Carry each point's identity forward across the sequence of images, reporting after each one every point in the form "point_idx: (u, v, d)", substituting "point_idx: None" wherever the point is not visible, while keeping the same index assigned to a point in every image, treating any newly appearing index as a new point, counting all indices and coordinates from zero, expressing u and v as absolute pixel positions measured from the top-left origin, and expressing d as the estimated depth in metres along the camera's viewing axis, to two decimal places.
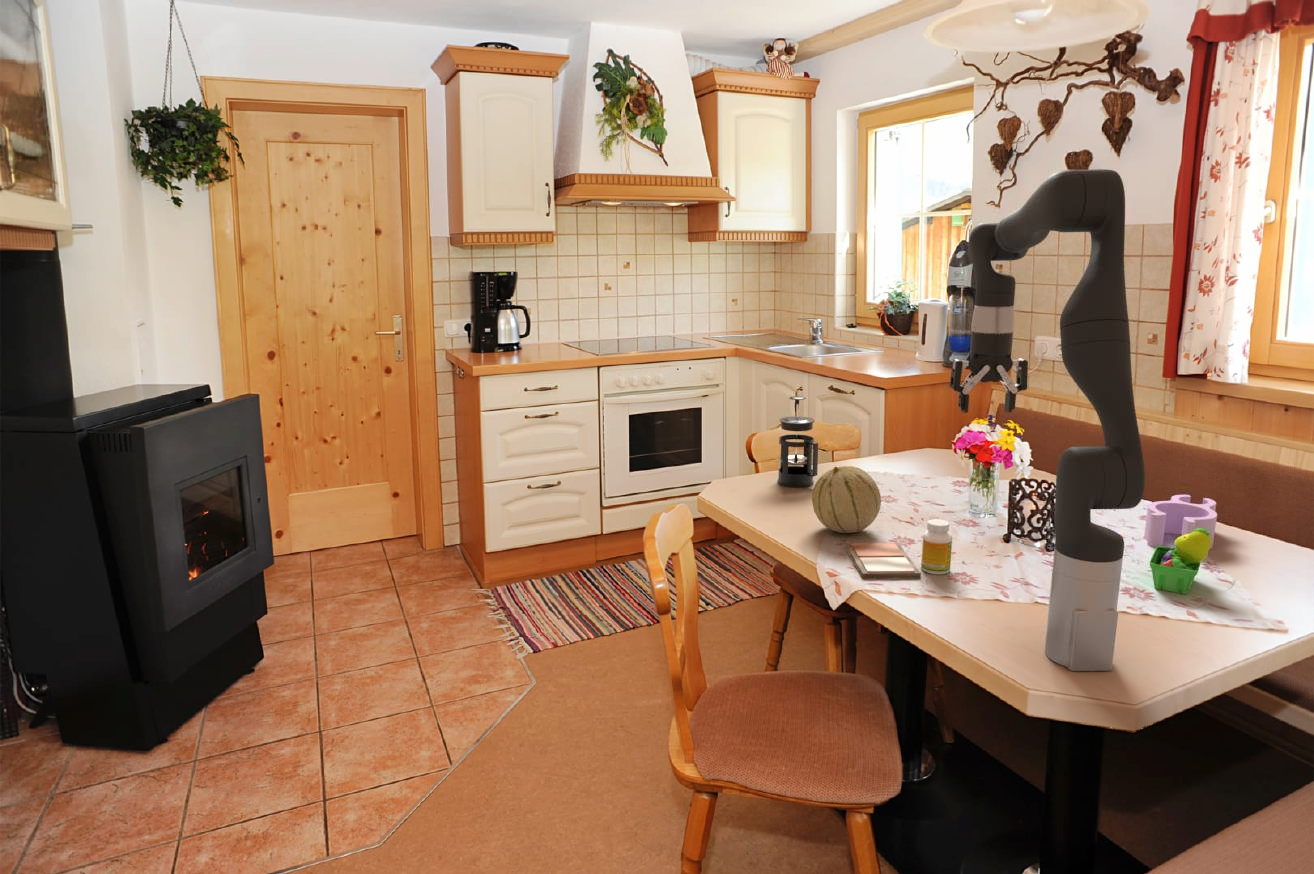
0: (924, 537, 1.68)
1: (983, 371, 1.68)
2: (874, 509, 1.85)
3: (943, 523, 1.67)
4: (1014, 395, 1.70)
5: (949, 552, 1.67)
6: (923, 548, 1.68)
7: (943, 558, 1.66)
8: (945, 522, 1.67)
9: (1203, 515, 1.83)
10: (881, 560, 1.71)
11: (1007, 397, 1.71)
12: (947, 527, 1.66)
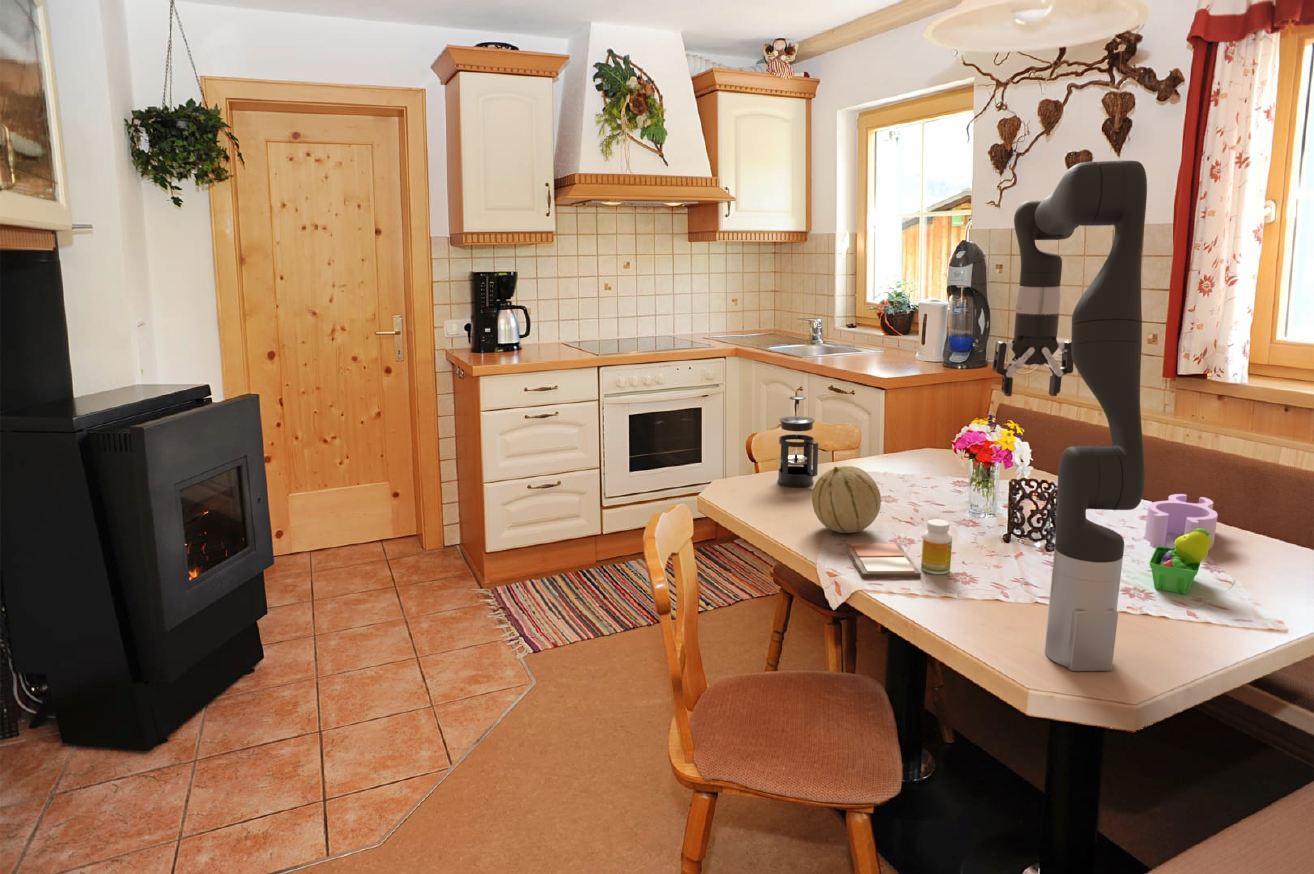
0: (924, 537, 1.68)
1: (1028, 353, 1.64)
2: (874, 509, 1.85)
3: (943, 523, 1.67)
4: (1059, 378, 1.66)
5: (949, 552, 1.67)
6: (923, 548, 1.68)
7: (944, 558, 1.66)
8: (945, 522, 1.67)
9: (1202, 514, 1.83)
10: (881, 560, 1.71)
11: (1051, 380, 1.67)
12: (947, 527, 1.66)
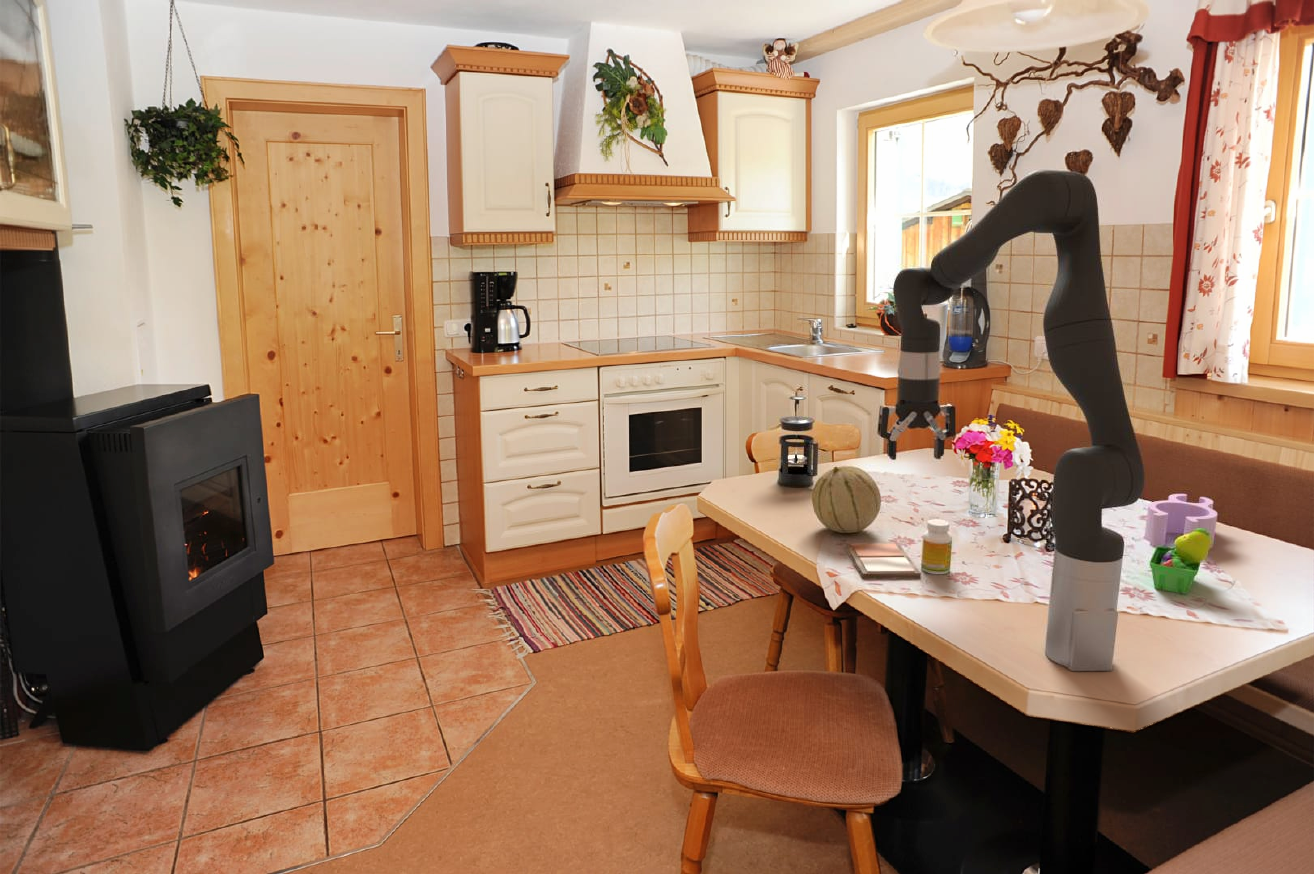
0: (924, 537, 1.68)
1: (910, 417, 1.64)
2: (874, 509, 1.85)
3: (943, 523, 1.67)
4: (943, 441, 1.66)
5: (949, 552, 1.67)
6: (923, 548, 1.68)
7: (944, 558, 1.66)
8: (945, 522, 1.67)
9: (1202, 514, 1.83)
10: (881, 560, 1.71)
11: (935, 443, 1.67)
12: (947, 527, 1.66)
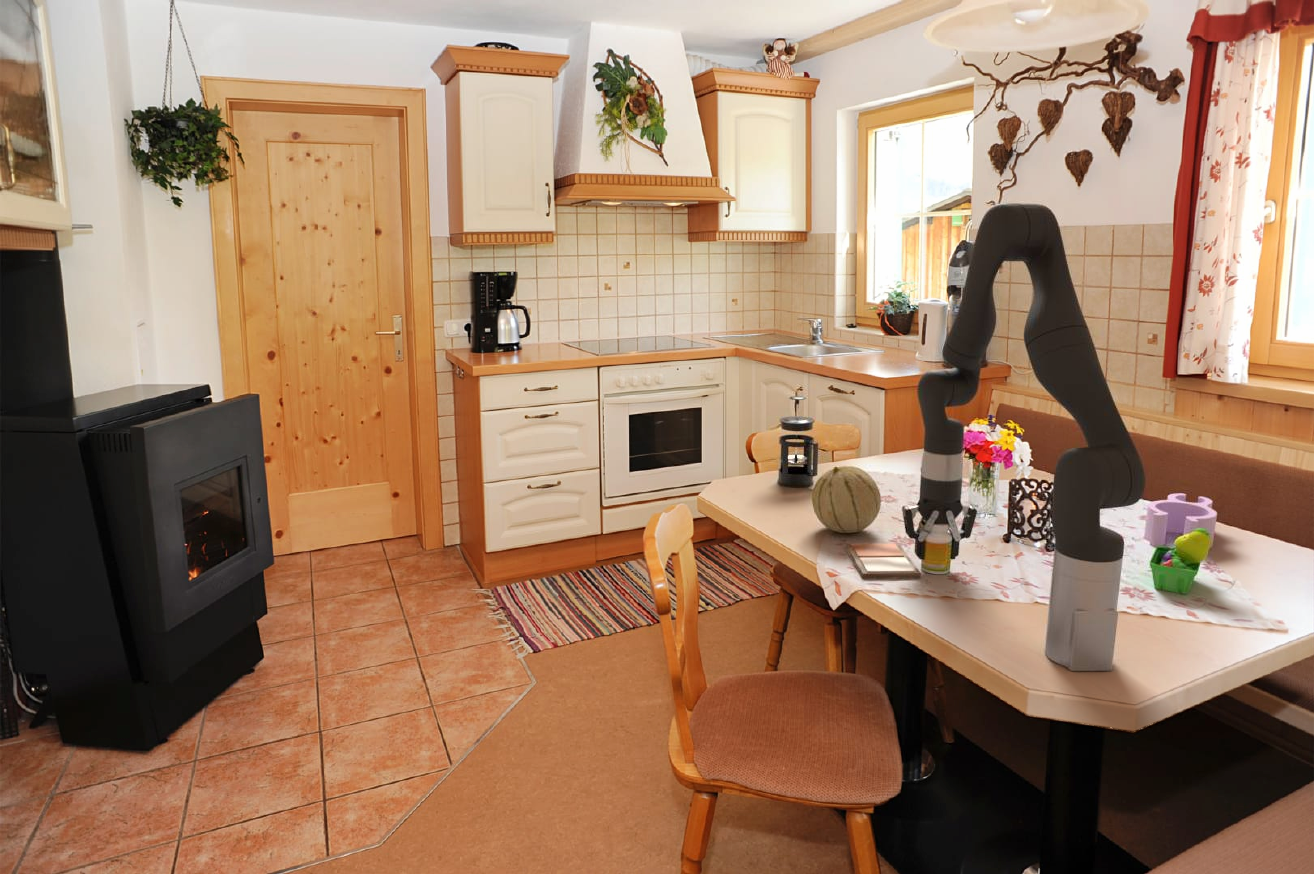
0: None
1: (933, 517, 1.65)
2: (874, 509, 1.85)
3: None
4: (957, 542, 1.68)
5: (949, 552, 1.67)
6: None
7: (943, 558, 1.66)
8: None
9: (1202, 514, 1.84)
10: (881, 560, 1.71)
11: None
12: (947, 527, 1.66)
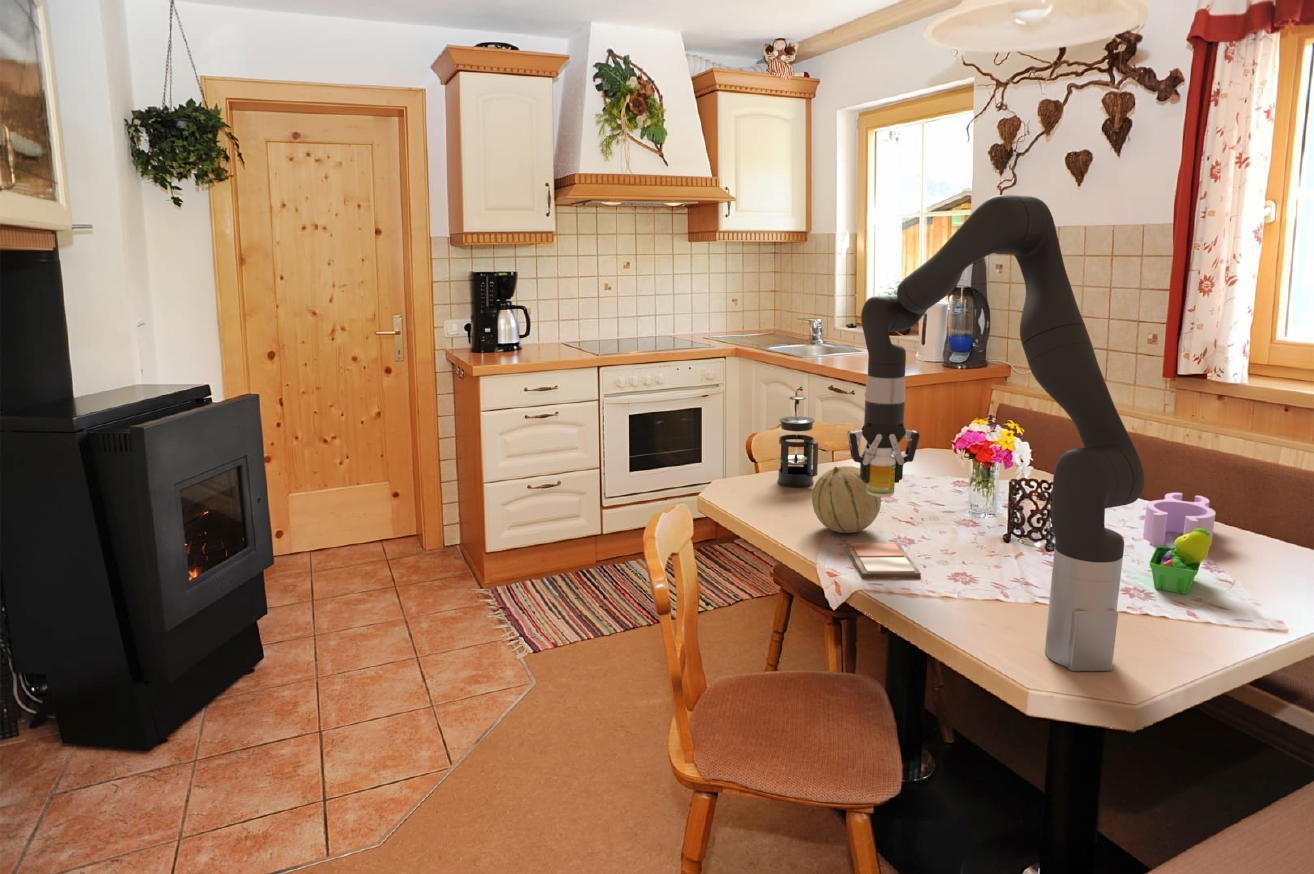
0: (869, 461, 1.73)
1: (876, 440, 1.70)
2: (874, 509, 1.85)
3: None
4: (901, 466, 1.73)
5: (892, 475, 1.72)
6: None
7: (887, 480, 1.71)
8: None
9: (1200, 513, 1.84)
10: (881, 560, 1.71)
11: None
12: (890, 450, 1.71)
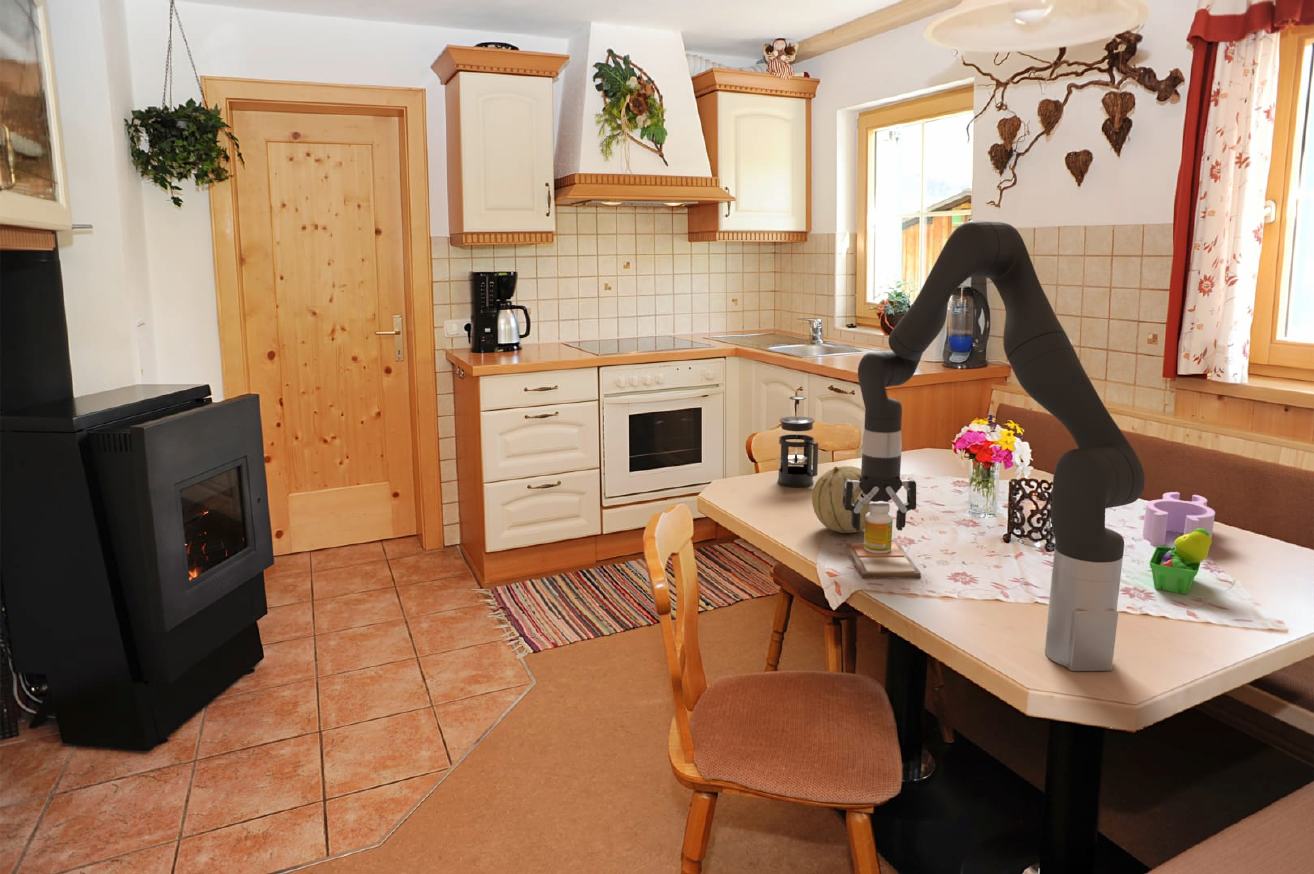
0: (866, 518, 1.75)
1: (872, 492, 1.73)
2: None
3: (884, 504, 1.75)
4: (904, 514, 1.75)
5: (889, 532, 1.74)
6: (865, 528, 1.76)
7: (884, 538, 1.74)
8: (886, 503, 1.75)
9: (1199, 512, 1.85)
10: (881, 560, 1.71)
11: (897, 515, 1.76)
12: (887, 508, 1.74)
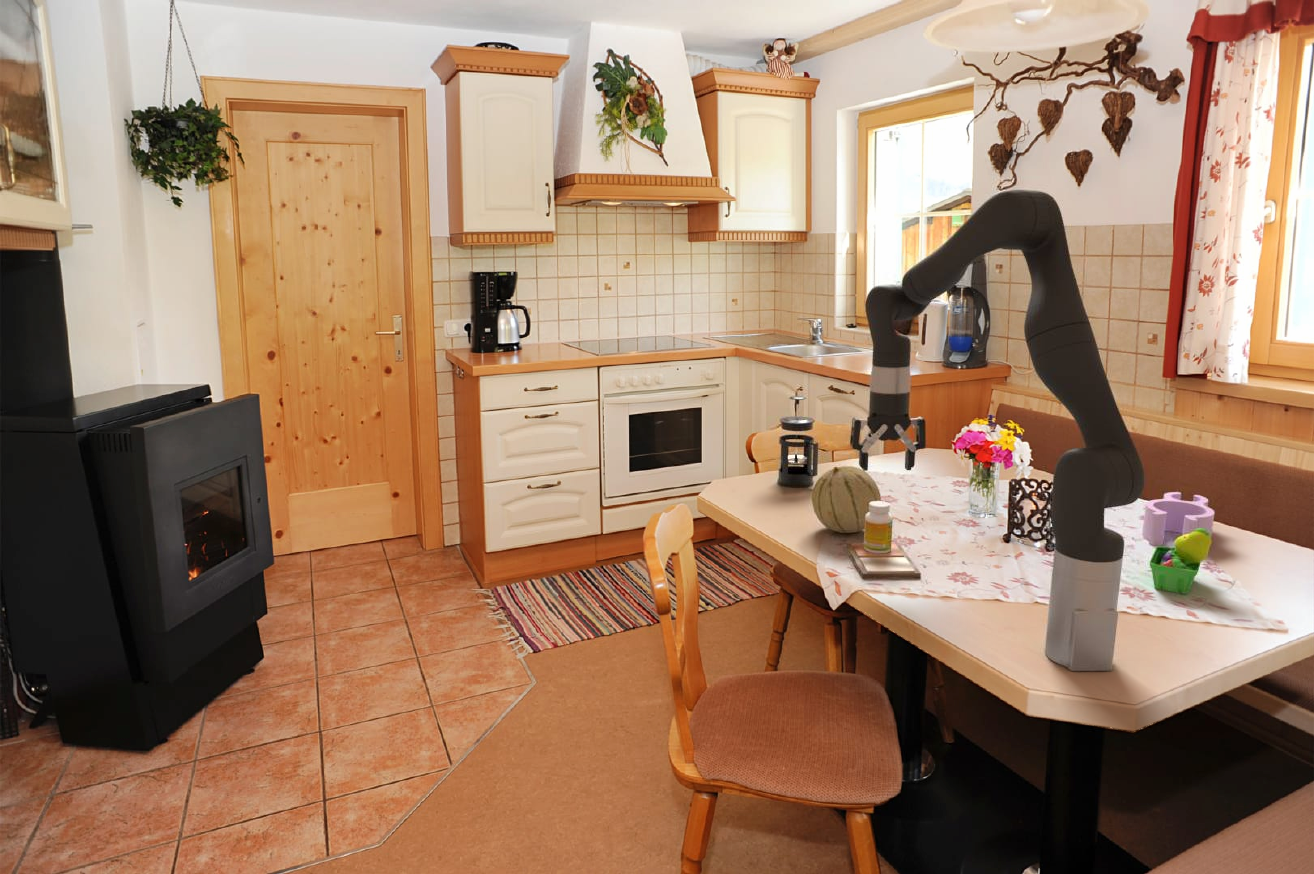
0: (866, 518, 1.75)
1: (881, 430, 1.69)
2: None
3: (884, 504, 1.75)
4: (913, 453, 1.71)
5: (889, 532, 1.74)
6: (865, 528, 1.76)
7: (884, 538, 1.74)
8: (886, 503, 1.75)
9: (1199, 512, 1.85)
10: (881, 560, 1.71)
11: (906, 454, 1.72)
12: (887, 508, 1.74)
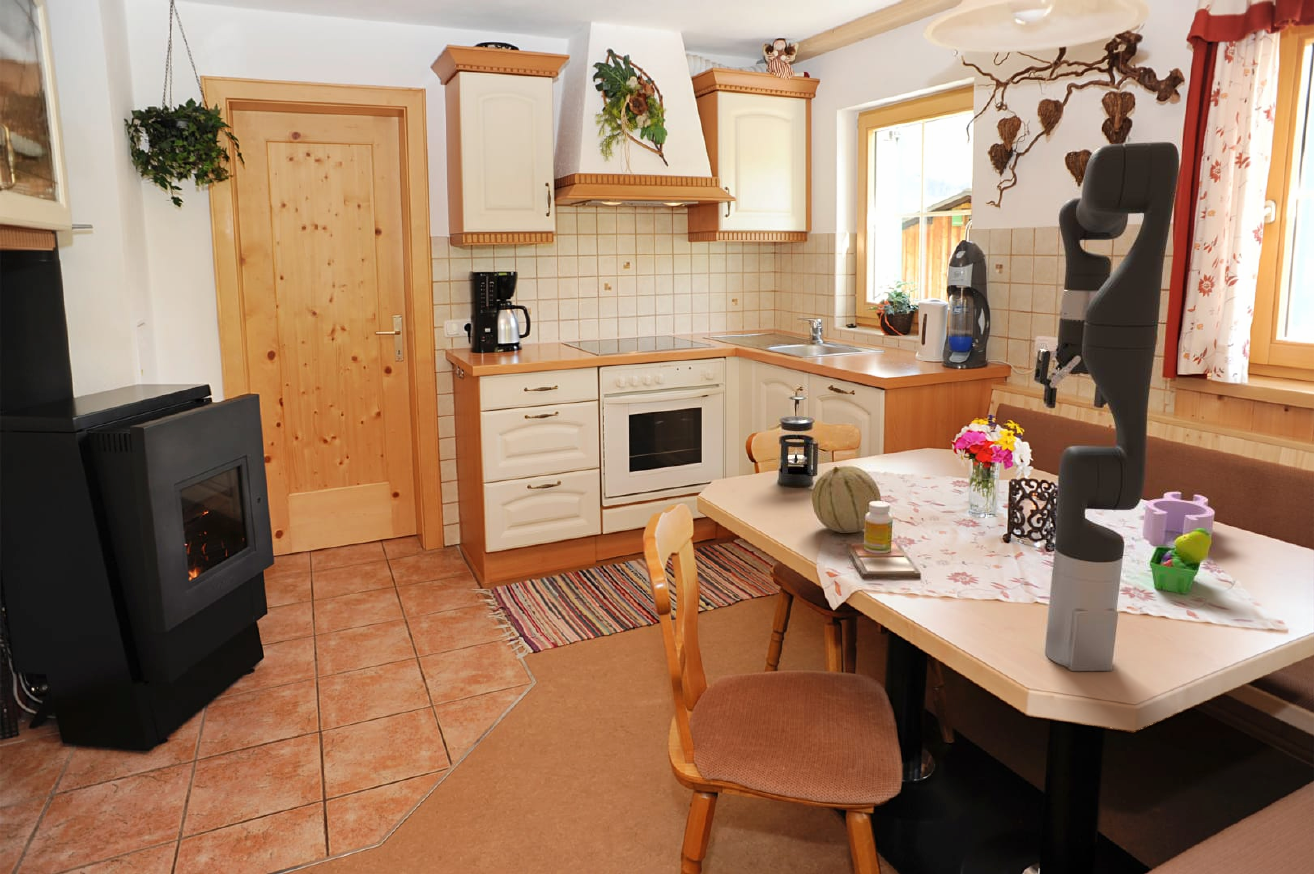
0: (866, 518, 1.75)
1: (1073, 362, 1.52)
2: None
3: (884, 504, 1.75)
4: None
5: (889, 532, 1.74)
6: (865, 528, 1.76)
7: (884, 538, 1.74)
8: (886, 503, 1.75)
9: (1199, 512, 1.85)
10: (881, 560, 1.71)
11: (1097, 390, 1.55)
12: (887, 508, 1.74)
